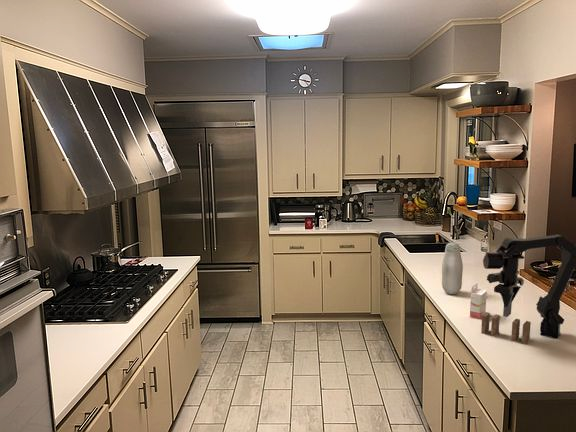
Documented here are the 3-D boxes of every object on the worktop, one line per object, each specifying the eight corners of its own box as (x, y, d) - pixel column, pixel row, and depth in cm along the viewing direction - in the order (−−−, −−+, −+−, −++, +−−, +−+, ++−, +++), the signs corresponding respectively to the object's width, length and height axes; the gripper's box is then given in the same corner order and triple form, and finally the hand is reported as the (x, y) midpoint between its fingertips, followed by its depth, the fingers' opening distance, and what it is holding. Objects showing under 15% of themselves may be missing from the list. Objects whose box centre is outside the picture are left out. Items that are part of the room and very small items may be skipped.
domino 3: (518, 337, 192) (520, 319, 190) (515, 341, 188) (516, 323, 187) (514, 336, 193) (515, 318, 191) (511, 340, 189) (512, 322, 188)
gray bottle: (444, 289, 255) (446, 239, 250) (463, 292, 249) (465, 241, 245) (438, 294, 247) (440, 243, 242) (458, 297, 241) (460, 245, 237)
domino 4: (529, 340, 189) (530, 321, 188) (526, 344, 185) (527, 325, 184) (525, 339, 190) (526, 320, 189) (521, 343, 186) (522, 324, 185)
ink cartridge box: (480, 319, 212) (481, 288, 209) (469, 317, 215) (470, 286, 213) (486, 313, 218) (487, 283, 216) (475, 311, 221) (476, 282, 219)
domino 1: (489, 330, 199) (489, 312, 198) (485, 334, 196) (485, 316, 194) (485, 329, 201) (486, 312, 199) (481, 333, 197) (482, 315, 196)
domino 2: (498, 332, 197) (499, 315, 196) (494, 336, 193) (495, 318, 192) (494, 331, 198) (495, 314, 197) (490, 335, 194) (491, 317, 193)
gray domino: (511, 313, 195) (512, 295, 194) (507, 317, 191) (508, 298, 190) (507, 312, 196) (508, 294, 195) (503, 316, 192) (504, 297, 191)
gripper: (497, 260, 202) (495, 295, 205) (482, 269, 189) (479, 306, 191) (525, 265, 195) (522, 300, 197) (510, 275, 181) (508, 312, 184)
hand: (507, 304), depth 193 cm, fingers closed on gray domino, 5 cm apart
